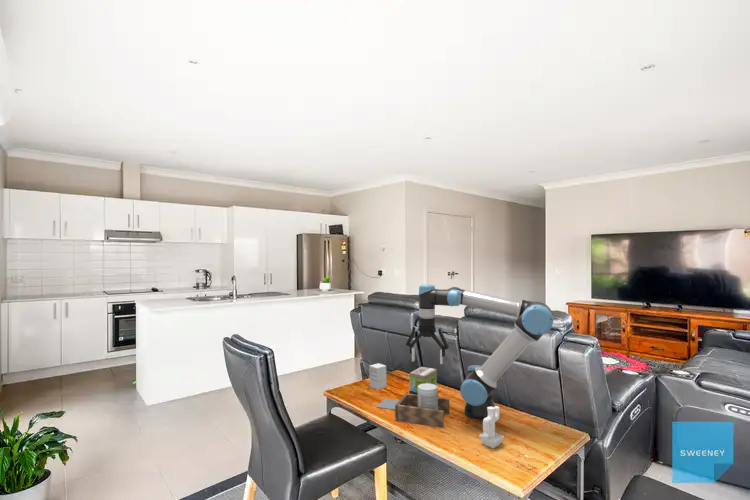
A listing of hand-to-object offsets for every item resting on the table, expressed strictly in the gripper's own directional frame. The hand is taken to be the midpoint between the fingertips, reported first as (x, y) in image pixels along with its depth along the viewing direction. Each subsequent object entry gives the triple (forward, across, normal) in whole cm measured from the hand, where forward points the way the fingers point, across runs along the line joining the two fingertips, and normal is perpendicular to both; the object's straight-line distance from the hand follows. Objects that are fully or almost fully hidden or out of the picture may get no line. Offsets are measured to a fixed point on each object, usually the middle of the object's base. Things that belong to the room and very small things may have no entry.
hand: (427, 362), depth 182 cm
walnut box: (+26, +2, 0) cm, 26 cm away
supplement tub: (+26, 0, 0) cm, 26 cm away
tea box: (+26, +8, -24) cm, 37 cm away
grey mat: (+26, +21, -9) cm, 35 cm away
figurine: (+26, -30, +17) cm, 43 cm away
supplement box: (+26, +37, -32) cm, 56 cm away
